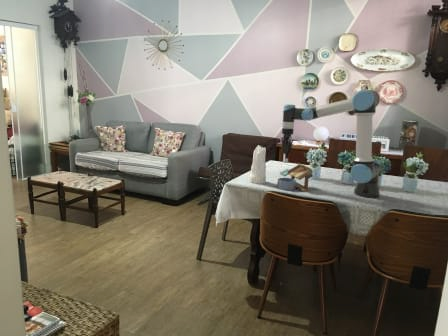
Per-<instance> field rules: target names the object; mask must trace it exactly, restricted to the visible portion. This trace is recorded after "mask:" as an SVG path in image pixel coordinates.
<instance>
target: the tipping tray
mask: <svg viewBox="0 0 448 336" xmlns="http://www.w3.org/2000/svg"><path fill="white" fill-rule="evenodd" d="M313 173H314V171H313V169H312V168H311V167H309V166H306V165H305V164H302V163H298V164H297V165H295V166H293V167H292V168H290V169H289V168H285V169H284V170H282V171H279V174H280V175H281V176H283V177H287V176H288V175H289V176H293V177H295V179H296V180H299V181H300V180H302V179H305V176H309V179H312V178H313V177H314V175H313Z"/></svg>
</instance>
